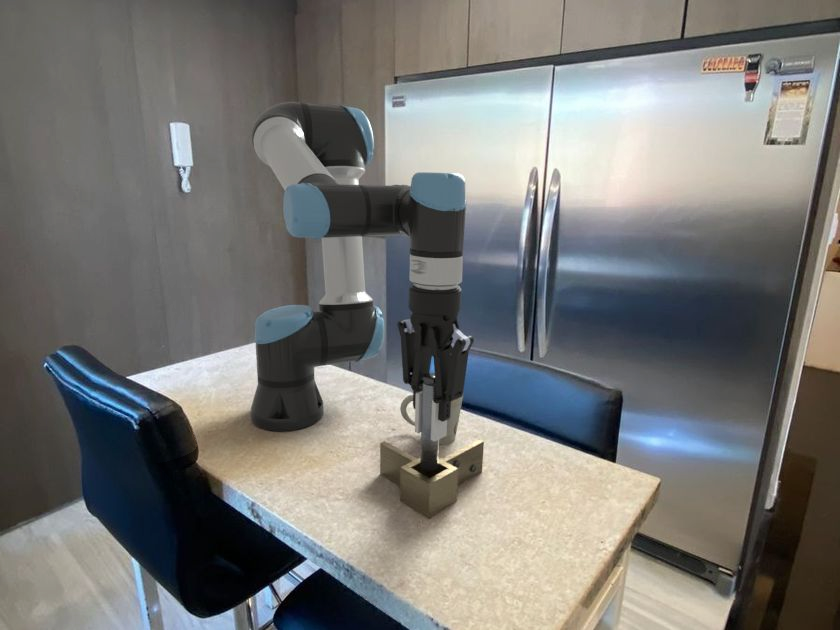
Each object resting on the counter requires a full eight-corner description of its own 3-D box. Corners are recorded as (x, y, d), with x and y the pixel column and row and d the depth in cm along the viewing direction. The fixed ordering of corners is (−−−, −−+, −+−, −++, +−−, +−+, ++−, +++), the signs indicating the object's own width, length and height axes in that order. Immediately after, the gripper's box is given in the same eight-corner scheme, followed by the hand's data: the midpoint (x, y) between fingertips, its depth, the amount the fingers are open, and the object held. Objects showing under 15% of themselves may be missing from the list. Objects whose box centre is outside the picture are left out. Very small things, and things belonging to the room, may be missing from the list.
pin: (416, 465, 81) (418, 375, 78) (429, 459, 83) (431, 371, 79) (429, 472, 79) (432, 381, 76) (441, 465, 81) (445, 376, 78)
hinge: (368, 480, 88) (368, 448, 87) (434, 447, 100) (435, 418, 98) (428, 519, 79) (429, 484, 77) (494, 478, 90) (496, 446, 88)
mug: (458, 449, 99) (460, 401, 97) (394, 441, 101) (395, 394, 99) (463, 430, 107) (465, 384, 104) (404, 423, 109) (405, 378, 107)
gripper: (379, 279, 77) (378, 423, 83) (460, 297, 66) (452, 462, 72) (415, 273, 82) (412, 410, 88) (495, 289, 71) (486, 444, 77)
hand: (430, 433), depth 80 cm, fingers closed on pin, 3 cm apart
